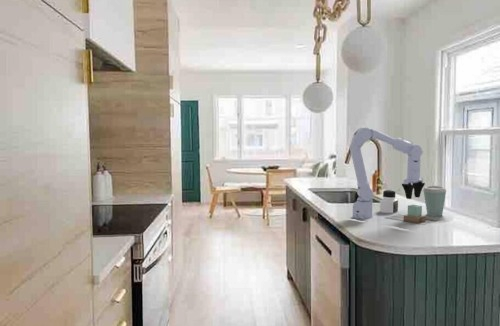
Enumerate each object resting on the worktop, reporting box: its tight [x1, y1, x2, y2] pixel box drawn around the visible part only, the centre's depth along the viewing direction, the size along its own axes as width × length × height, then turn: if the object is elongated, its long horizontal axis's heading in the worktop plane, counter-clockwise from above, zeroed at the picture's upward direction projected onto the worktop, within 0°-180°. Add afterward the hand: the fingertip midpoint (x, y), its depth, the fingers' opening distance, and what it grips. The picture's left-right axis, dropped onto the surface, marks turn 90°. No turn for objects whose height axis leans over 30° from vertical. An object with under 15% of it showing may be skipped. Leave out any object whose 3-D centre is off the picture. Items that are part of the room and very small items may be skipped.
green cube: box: [407, 204, 423, 217], centre depth 192 cm, size 4×4×4 cm
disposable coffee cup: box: [422, 185, 447, 217], centre depth 208 cm, size 11×11×15 cm
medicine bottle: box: [379, 189, 399, 214], centre depth 216 cm, size 7×7×12 cm
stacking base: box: [385, 213, 438, 226], centre depth 196 cm, size 14×20×4 cm
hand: (413, 198), depth 200 cm, fingers open, 7 cm apart
